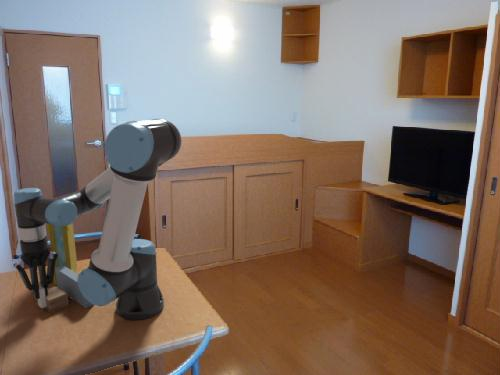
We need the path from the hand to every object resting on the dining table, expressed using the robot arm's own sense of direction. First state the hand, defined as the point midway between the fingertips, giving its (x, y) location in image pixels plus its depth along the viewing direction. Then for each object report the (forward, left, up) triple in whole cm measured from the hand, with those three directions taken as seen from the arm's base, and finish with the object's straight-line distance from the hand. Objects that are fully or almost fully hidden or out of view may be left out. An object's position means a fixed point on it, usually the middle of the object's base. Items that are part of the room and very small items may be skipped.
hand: (42, 306), depth 131 cm
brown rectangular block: (0, -4, -1) cm, 4 cm away
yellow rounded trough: (+19, -17, -2) cm, 26 cm away
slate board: (0, -11, -1) cm, 11 cm away
